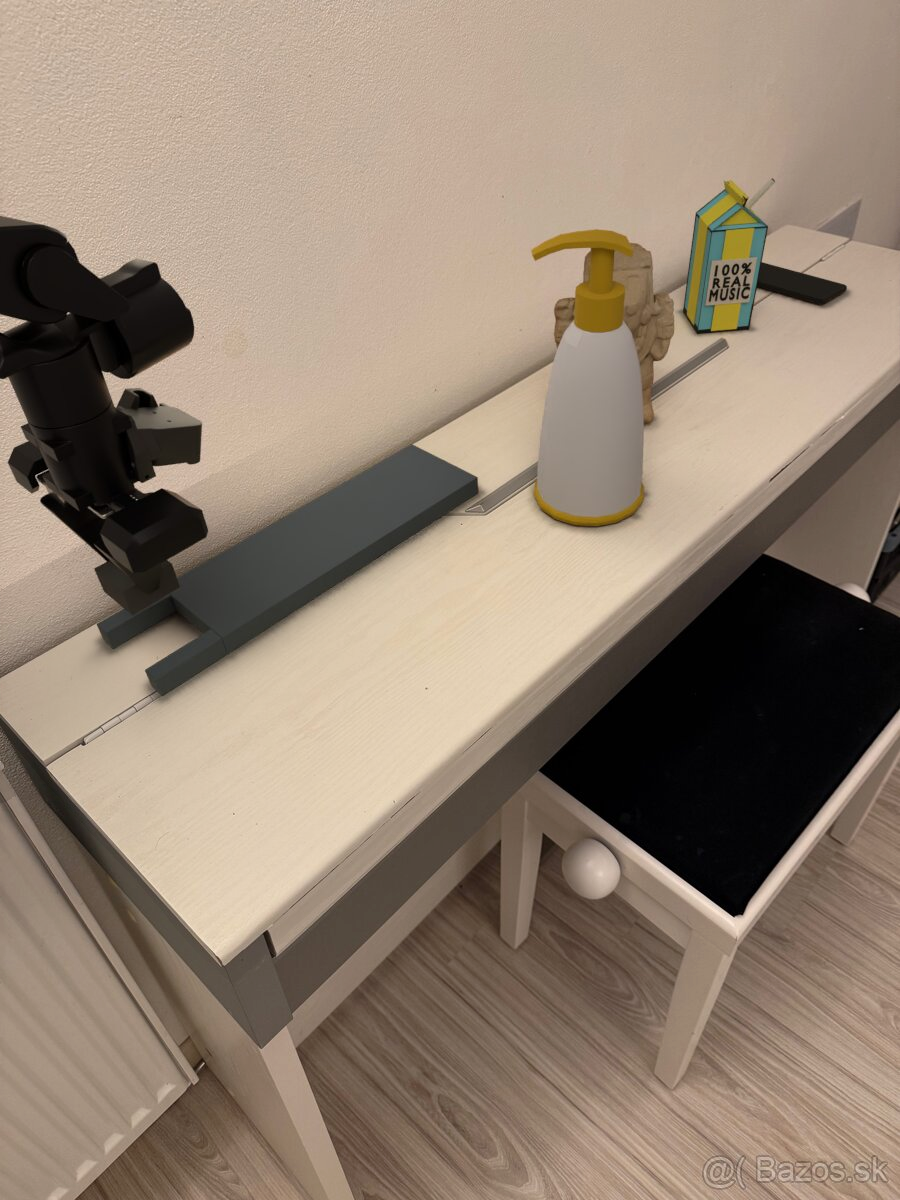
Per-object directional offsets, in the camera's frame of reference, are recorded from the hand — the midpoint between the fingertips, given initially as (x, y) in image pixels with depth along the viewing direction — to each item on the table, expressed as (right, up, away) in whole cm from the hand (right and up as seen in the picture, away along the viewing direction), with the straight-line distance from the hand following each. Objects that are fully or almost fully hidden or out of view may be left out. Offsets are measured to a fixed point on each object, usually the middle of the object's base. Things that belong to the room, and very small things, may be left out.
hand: (137, 578), depth 70 cm
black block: (0, -1, +1) cm, 1 cm away
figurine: (+44, +19, +29) cm, 56 cm away
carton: (+62, +36, +47) cm, 86 cm away
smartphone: (+74, +43, +54) cm, 101 cm away
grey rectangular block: (+11, +2, +13) cm, 18 cm away
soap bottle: (+39, +9, +19) cm, 45 cm away
